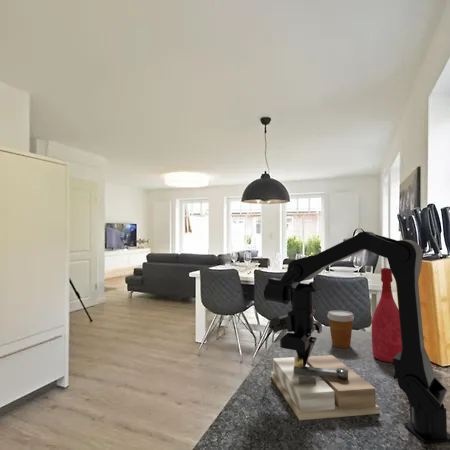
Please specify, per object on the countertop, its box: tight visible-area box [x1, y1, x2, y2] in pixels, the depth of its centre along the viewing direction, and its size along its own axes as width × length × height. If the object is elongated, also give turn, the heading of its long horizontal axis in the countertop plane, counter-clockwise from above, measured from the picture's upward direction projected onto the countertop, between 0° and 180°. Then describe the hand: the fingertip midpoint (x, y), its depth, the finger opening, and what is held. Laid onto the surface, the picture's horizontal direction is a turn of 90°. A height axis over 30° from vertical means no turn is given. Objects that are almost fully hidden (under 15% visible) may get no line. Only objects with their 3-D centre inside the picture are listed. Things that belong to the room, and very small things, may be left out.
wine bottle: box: [371, 267, 402, 364], centre depth 111 cm, size 10×10×30 cm
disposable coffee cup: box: [326, 310, 355, 349], centre depth 124 cm, size 10×10×12 cm
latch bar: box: [294, 356, 348, 380], centre depth 84 cm, size 13×3×4 cm, turn 73°
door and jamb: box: [270, 354, 380, 421], centre depth 86 cm, size 23×19×7 cm
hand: (303, 366), depth 87 cm, fingers closed
